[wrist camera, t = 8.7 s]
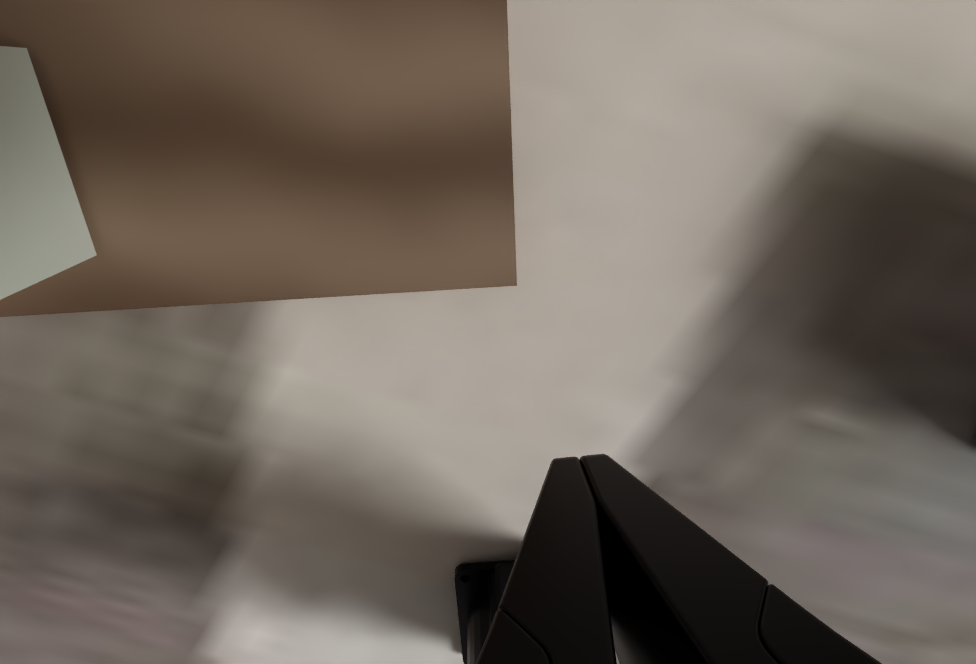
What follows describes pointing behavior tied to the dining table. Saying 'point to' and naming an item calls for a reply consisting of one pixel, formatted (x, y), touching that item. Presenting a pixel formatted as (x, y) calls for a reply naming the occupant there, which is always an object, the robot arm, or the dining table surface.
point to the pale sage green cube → (33, 185)
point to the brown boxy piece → (274, 147)
